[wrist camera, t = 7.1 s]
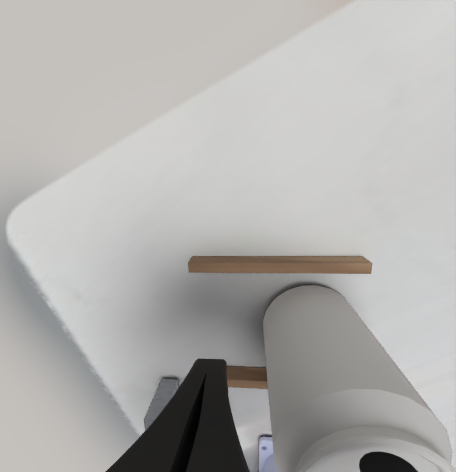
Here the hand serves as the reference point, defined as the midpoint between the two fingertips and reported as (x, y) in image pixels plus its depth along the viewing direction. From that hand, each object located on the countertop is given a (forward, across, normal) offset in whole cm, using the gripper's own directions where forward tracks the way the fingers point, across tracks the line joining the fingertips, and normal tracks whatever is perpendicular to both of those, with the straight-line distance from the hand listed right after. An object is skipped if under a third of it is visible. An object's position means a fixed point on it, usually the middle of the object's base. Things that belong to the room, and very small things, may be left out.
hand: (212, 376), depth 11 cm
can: (+10, -6, +3) cm, 12 cm away
